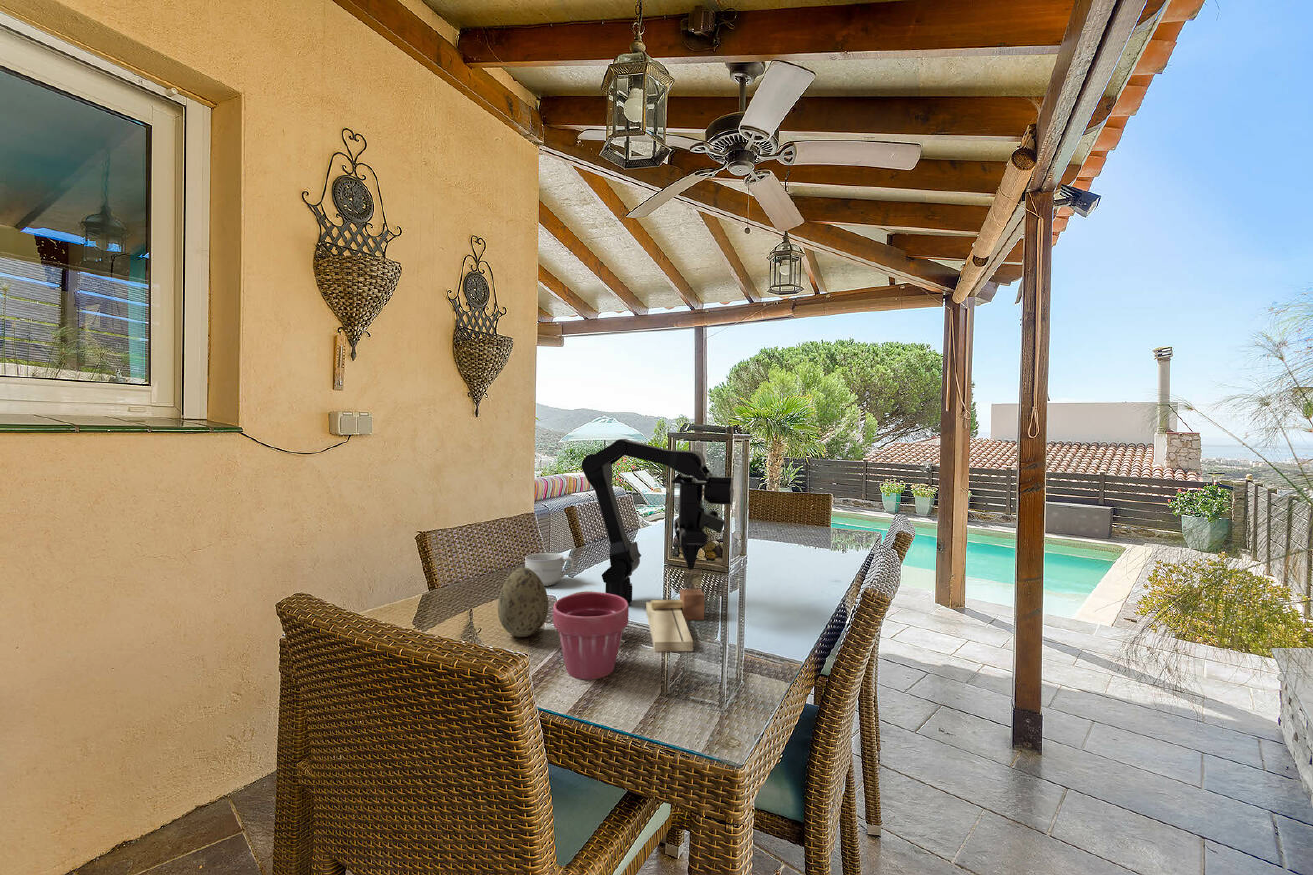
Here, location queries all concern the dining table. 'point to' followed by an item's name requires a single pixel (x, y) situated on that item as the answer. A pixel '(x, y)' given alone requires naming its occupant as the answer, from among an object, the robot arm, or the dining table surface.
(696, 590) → the wooden mallet
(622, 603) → the plant pot
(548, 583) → the teacup
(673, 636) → the board
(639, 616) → the dining table surface
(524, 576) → the decorative egg
